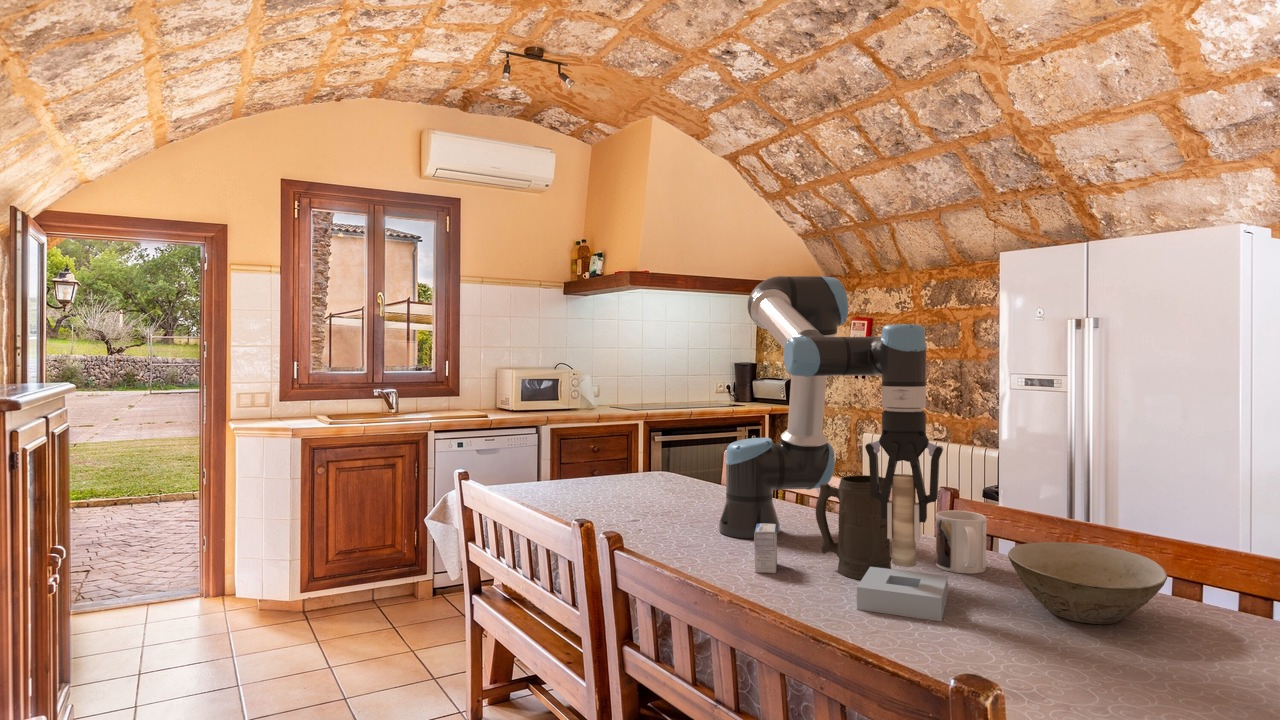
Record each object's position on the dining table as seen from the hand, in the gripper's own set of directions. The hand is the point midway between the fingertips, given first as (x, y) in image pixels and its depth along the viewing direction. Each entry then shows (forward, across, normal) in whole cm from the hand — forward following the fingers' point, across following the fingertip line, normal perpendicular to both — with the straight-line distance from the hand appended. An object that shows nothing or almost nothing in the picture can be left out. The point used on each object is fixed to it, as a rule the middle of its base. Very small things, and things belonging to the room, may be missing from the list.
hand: (903, 538), depth 139 cm
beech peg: (+5, 0, 0) cm, 5 cm away
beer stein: (+12, -12, +16) cm, 24 cm away
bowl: (+12, +29, +7) cm, 32 cm away
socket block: (+12, 0, 0) cm, 12 cm away
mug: (+12, +8, +28) cm, 32 cm away
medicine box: (+12, -29, +11) cm, 34 cm away
